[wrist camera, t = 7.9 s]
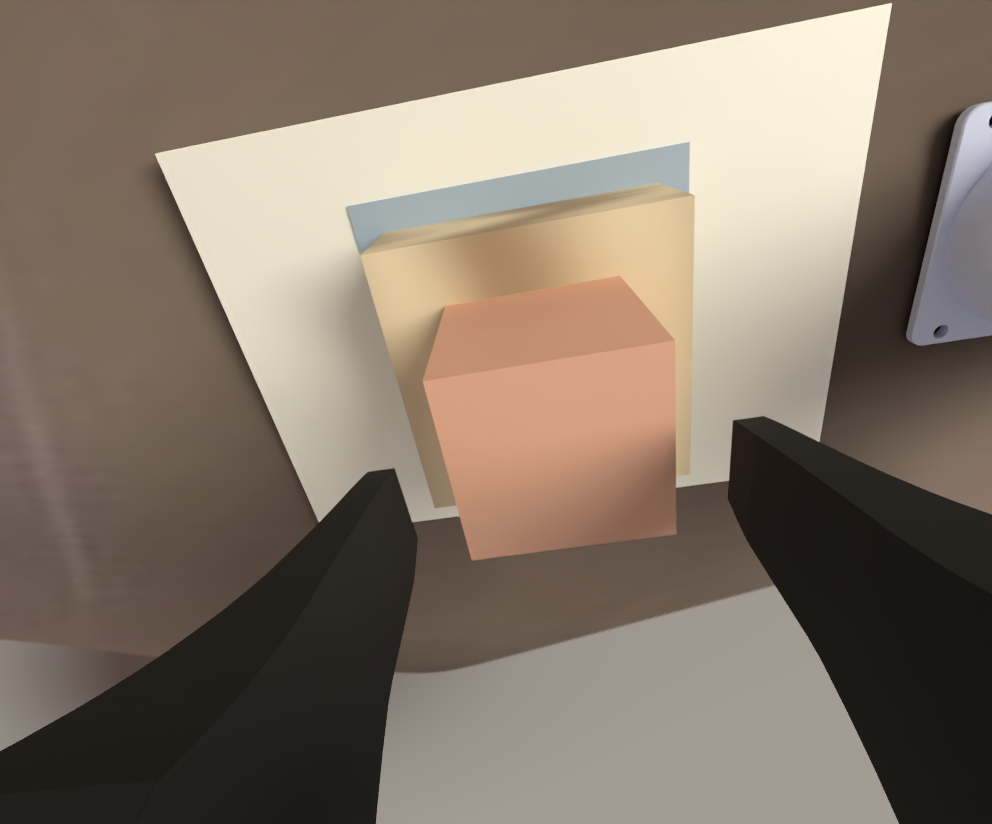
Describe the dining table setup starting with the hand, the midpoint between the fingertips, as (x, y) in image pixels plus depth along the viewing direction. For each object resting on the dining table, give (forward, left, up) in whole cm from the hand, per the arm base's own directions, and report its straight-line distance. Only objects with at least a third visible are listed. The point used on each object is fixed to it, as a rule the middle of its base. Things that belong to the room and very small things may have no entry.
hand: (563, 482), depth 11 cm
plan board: (0, 0, -10) cm, 10 cm away
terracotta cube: (0, 0, -5) cm, 5 cm away
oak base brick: (0, 0, -9) cm, 9 cm away
